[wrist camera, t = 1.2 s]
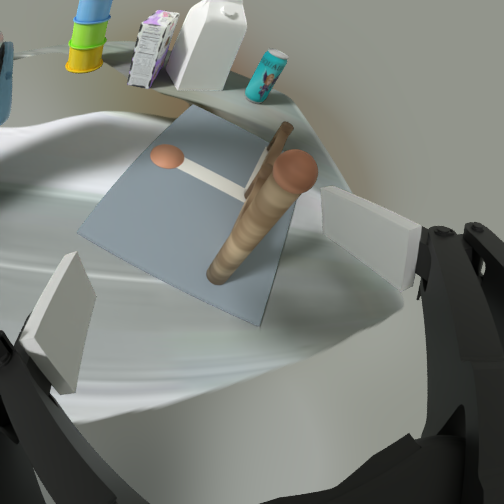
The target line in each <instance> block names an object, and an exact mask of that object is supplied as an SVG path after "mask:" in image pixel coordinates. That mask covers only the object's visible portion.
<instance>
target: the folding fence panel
mask: <svg viewBox="0 0 504 504" xmlns="http://www.w3.org/2000/svg"><path fill="white" fill-rule="evenodd" d="M317 177H318V168H317V164H316V162H315V160H314V159H313V157H312V156H311V155H309V154H308V153H307V152H305V151H302V150H298V149H292V150H288V151H285V152H283V153H282V154H280V155H279V156H278V158H277V159H276V161H275V162H274V165H273V171H272V173H271V174H270V176H269V177H268V179H267V180H266V181H264V180H262V179H261V178H259V177H258V179H257V180H256V182H255V184H254V187H253V189H252V191H251V193H250V195H249V196H248V198H247V199H246V201H245V202H244V205H243V207H242V209H241V211H240V213H239V216H238V218H237V220H236V222H235V224H234V227H233V229H232V231H231V233H230V235H229V237H228V238H227V240H226V241H225V243H224V244H223V246H222V247H221V249H220V251H219V252H218V254H217V255H216V257H215V258H214V260H213V261H212V263H211V264H210V266H209V267H208V269H207V272H206V276H207V279H208V280H209V281H210V282H211V283H212V284H214V285H222V284H224V283H225V282H226V281H227V280H228V279H229V277H230V276H231V275H232V274H233V273H234V272H235V270H236V269H237V268H238V267H239V266H240V265H241V263H242V262H243V261H244V260H245V259H246V258H247V256H248V255H249V254H250V253H251V252H252V251H253V249H254V248H255V247H256V246H257V245H258V244H259V242H260V241H261V240H262V239H263V238H264V237H265V235H266V234H267V233H268V232H269V231H270V230H271V228H272V227H273V226H274V225H275V224H276V223H277V222H278V220H279V219H280V218H281V217H282V216H283V215H284V213H285V212H286V211H287V210H288V209H289V208H290V206H291V205H292V204H293V203H294V202H295V201H296V199H297V198H298V197H299V196H300V195H301V194H302V193H304V192H306V191H308V190H309V189H311V188H312V187H313V185H314V184H315V182H316V180H317Z"/></svg>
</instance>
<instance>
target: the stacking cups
mask: <svg viewBox="0 0 504 504" xmlns="http://www.w3.org/2000/svg"><path fill="white" fill-rule="evenodd" d="M112 1H113V0H80V1H79V6H78V10H77V15H76V17H74V19H73V21H74V22H75V23H74V29H73V34H72V39H71V40H70V41H69V46H70V51H69V60H68V62H67V63H66V65H65V67H66V69H67V70H68V71H69V72H72V73H88V72H92V71H95V70H97V69H98V68H100V67H101V66H102V64H103V59H102V58H101V57H102V51H103V45H104V44H105V43H106V41H107V39H106V37H105V33H106V28H107V24H108V20H109V19H110V18H111V16H110V15H109V13H110V8H111V4H112Z"/></svg>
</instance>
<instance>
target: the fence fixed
mask: <svg viewBox="0 0 504 504" xmlns="http://www.w3.org/2000/svg"><path fill="white" fill-rule="evenodd" d="M293 129H294V127H293V126H292V125H291V124H290V123H288V122H283V123H282V124H281V126H280V128H279V129H278V131H277V132H276V134H275V135H274V137H273V139H272V140H271V142H270V143H269V145H268V147H267V151H268V153H267V155H266V157H265V159H264V161H263V164H262V166H261V168H260V170H259V171H258V173H257V175H256V176H255V178H254V179H253V181H252V183H251V184H250V186H249V187H248V189H247V191H246V192H245V194H244V197H245V199H247V198H248V196H249V195H250V193H251V191H252V189H253V187H254V184H255V182H256V180H257V179H258V177H259V178H261V179H262V180H264V181H266V180H267V179H268V177H269V176H270V174H271V173H272V171H273V165H274V162H275V161H276V159H277V158H278V156H279V155H280V154H281V152H282V149H283V147H284V145H285V142H286V140H287V138H288V136H289V135H290V133H291V132H292V130H293Z"/></svg>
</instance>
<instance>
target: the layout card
mask: <svg viewBox="0 0 504 504" xmlns="http://www.w3.org/2000/svg"><path fill="white" fill-rule="evenodd" d="M268 145H269V142H267V141H265V140H263V139H262V138H260V137H258V136H256V135H254V134H252V133H250V132H248V131H246V130H245V129H243V128H241V127H239V126H237V125H235V124H233V123H231V122H229V121H227V120H225V119H223V118H221V117H219V116H216V115H214V114H212V113H210V112H208V111H206V110H204V109H202V108H199V107H197V106H195V105H192V106H190V107H189V108H188V109H187V110H186V111H185V112H184V113H183V114H182V115H180V116H179V117H178V118H177V119H176V120H175V121H174V122H173V123H172V124H171V125H170V126H169V127H168V128H167V129H166V130H165V131H164V132H163V133H162V134H160V135H159V136H158V137H157V138H156V139H155V140H154V141H153V142H152V144H151V145H150V146H149V147H148V148H147V149H146V150H145V151H144V152H143V153H142V154H141V155H140V156H139V157H138V158H137V159H136V160H135V161H134V162H133V164H132V165H131V166H130V167H129V168H128V169H127V170H126V171H125V172H124V174H123V175H122V176H121V177H120V178H119V179H118V180H117V182H116V183H115V184H114V185H113V186H112V187H111V189H110V190H109V191H108V192H107V193H106V195H105V196H104V197H103V198H102V200H101V201H100V202H99V203H98V205H97V206H96V207H95V208H94V210H93V211H92V212H91V214H90V215H89V216H88V217H87V219H86V220H85V221H84V223H83V224H82V225H81V227H80V228H79V230H78V231H77V234H79V235H81V236H82V237H84V238H86V239H87V240H89V241H91V242H93V243H94V244H96V245H98V246H99V247H101V248H103V249H105V250H106V251H108V252H110V253H112V254H114V255H115V256H117V257H119V258H121V259H122V260H124V261H126V262H128V263H130V264H132V265H133V266H135V267H137V268H139V269H141V270H143V271H145V272H147V273H148V274H150V275H152V276H154V277H156V278H158V279H160V280H162V281H164V282H166V283H168V284H170V285H172V286H174V287H176V288H178V289H180V290H182V291H184V292H186V293H188V294H190V295H192V296H194V297H196V298H198V299H200V300H202V301H204V302H206V303H208V304H210V305H212V306H214V307H217V308H219V309H221V310H223V311H225V312H227V313H229V314H232V315H234V316H236V317H238V318H240V319H243V320H245V321H247V322H249V323H251V324H254V325H256V326H260V323H261V319H262V316H263V313H264V310H265V306H266V303H267V300H268V296H269V293H270V290H271V286H272V283H273V280H274V276H275V273H276V269H277V266H278V262H279V259H280V256H281V252H282V249H283V245H284V242H285V238H286V235H287V231H288V227H289V224H290V220H291V217H292V213H293V209H294V206H295V202H296V201H295V202H294V203H293V204H292V205H291V206H290V208H289V209H288V210H287V211H286V212H285V213H284V215H283V216H282V217H281V218H280V219H279V220H278V222H277V223H276V224H275V225H274V226H273V227H272V228H271V230H270V231H269V232H268V233H267V234H266V235H265V237H264V238H263V239H262V240H261V241H260V242H259V244H258V245H257V246H256V247H255V248H254V249H253V251H252V252H251V253H250V254H249V255H248V256H247V258H246V259H245V260H244V261H243V262H242V263H241V265H240V266H239V267H238V268H237V269H236V270H235V272H234V273H233V274H232V275H231V276H230V277H229V279H228V280H227V281H226V282H225V283H224V284H222V285H214V284H212V283H211V282H210V281H209V280H208V279H207V276H206V272H207V269H208V267H209V266H210V264H211V263H212V261H213V260H214V258H215V257H216V255H217V254H218V252H219V251H220V249H221V247H222V246H223V244H224V243H225V241H226V240H227V238H228V237H229V235H230V233H231V231H232V229H233V227H234V224H235V222H236V220H237V218H238V216H239V213H240V211H241V209H242V207H243V205H244V202H245V201H246V199H245V197H244V194H245V192H246V191H247V189H248V187H249V186H250V184H251V183H252V181H253V179H254V178H255V176H256V175H257V173H258V171H259V170H260V168H261V166H262V164H263V161H264V159H265V157H266V155H267V153H268V151H267V147H268ZM283 152H285V151H283V150H282V152H281V154H282V153H283Z"/></svg>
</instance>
